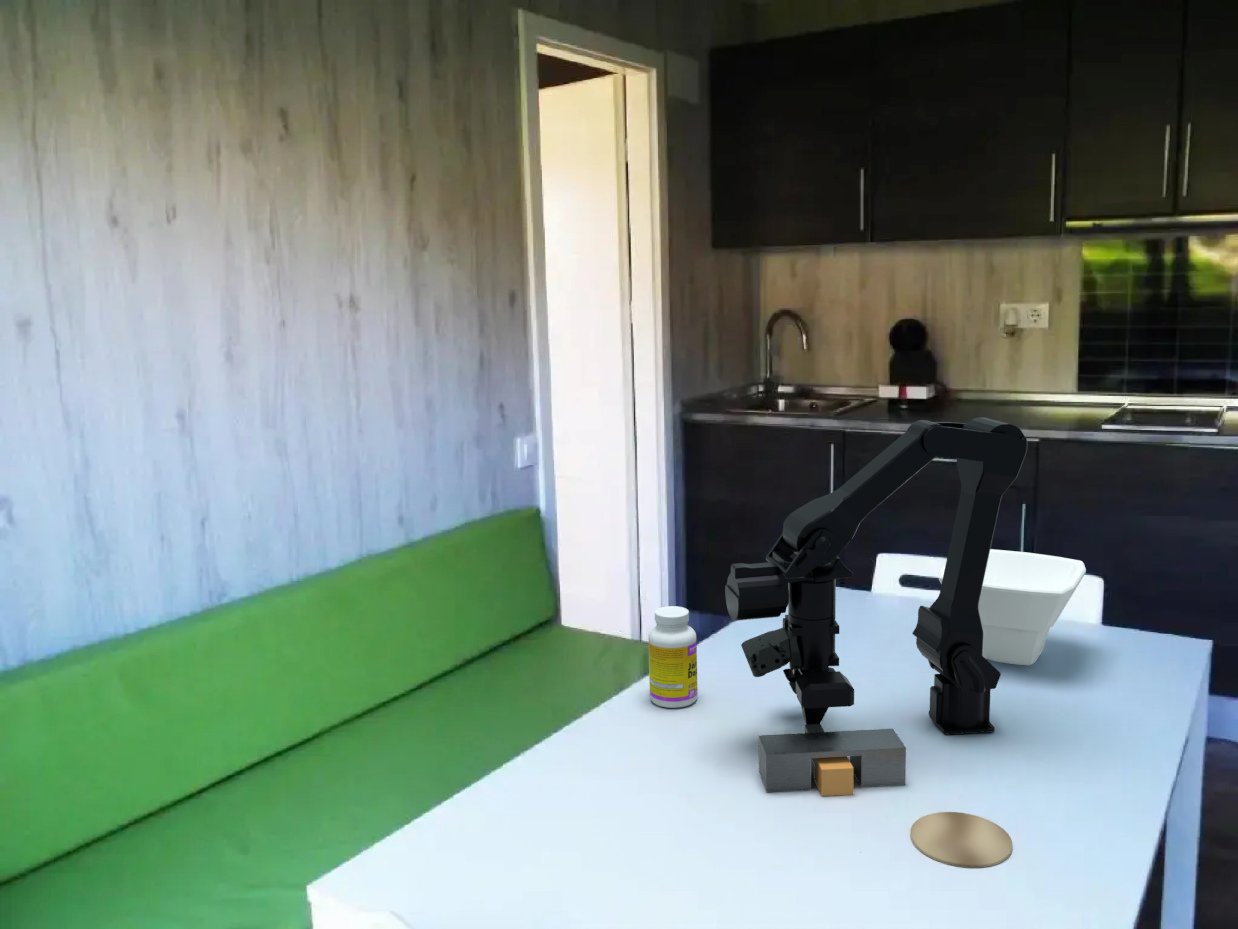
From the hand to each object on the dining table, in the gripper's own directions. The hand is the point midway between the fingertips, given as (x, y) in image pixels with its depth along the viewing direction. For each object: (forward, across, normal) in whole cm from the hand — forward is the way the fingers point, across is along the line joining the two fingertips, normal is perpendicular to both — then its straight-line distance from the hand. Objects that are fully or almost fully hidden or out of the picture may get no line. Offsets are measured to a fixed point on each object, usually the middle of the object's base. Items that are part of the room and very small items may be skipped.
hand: (811, 731), depth 132 cm
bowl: (+2, -24, +35) cm, 42 cm away
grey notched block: (+1, +10, 0) cm, 10 cm away
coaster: (+1, +24, +10) cm, 27 cm away
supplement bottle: (+2, -14, -16) cm, 22 cm away
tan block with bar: (+1, +8, 0) cm, 8 cm away
